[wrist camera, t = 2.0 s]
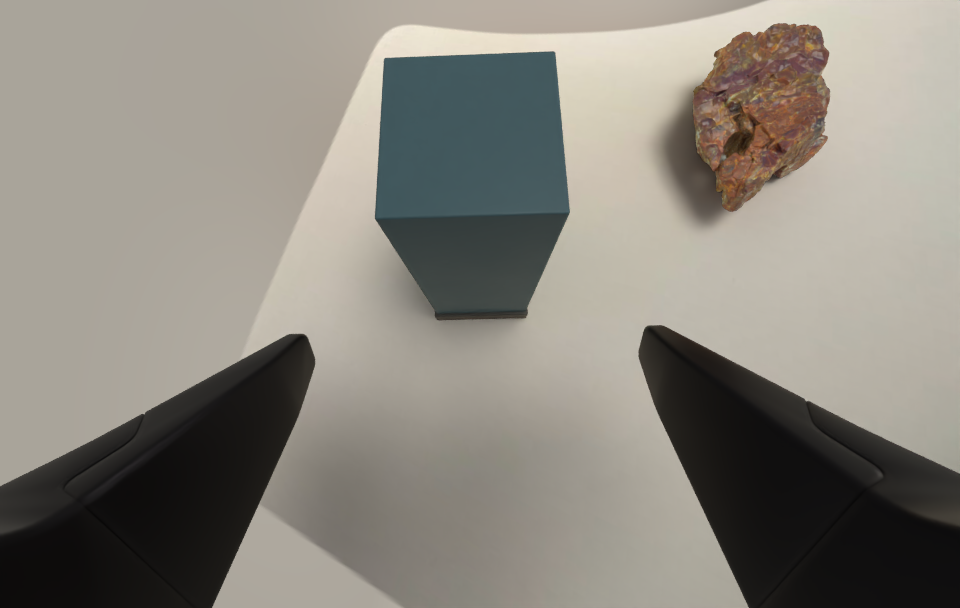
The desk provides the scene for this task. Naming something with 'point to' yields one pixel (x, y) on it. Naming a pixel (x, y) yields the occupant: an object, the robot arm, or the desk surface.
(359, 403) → the desk surface
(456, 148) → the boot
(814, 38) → the mineral specimen
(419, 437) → the desk surface
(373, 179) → the desk surface
